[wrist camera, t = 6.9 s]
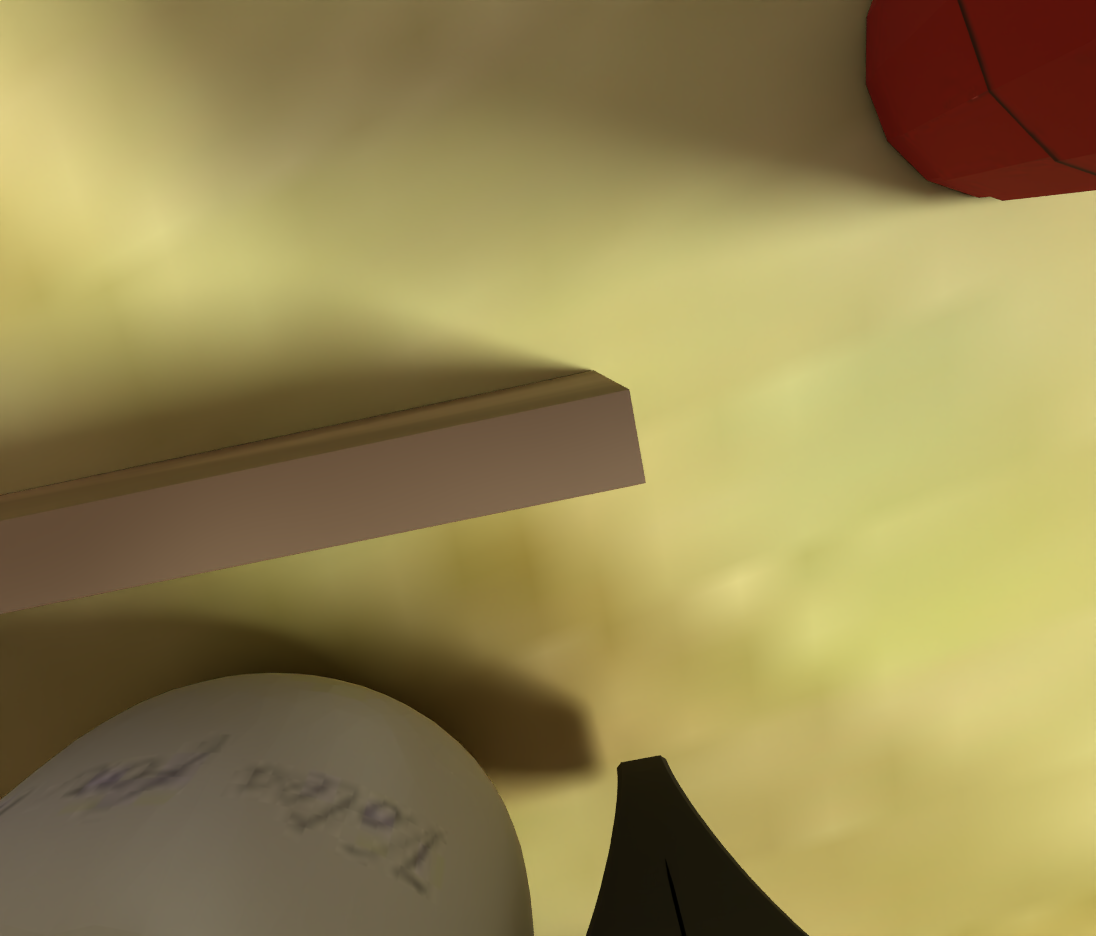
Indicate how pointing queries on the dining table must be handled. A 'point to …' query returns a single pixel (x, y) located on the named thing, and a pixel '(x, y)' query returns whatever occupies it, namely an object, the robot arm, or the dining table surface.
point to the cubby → (318, 489)
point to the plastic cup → (988, 92)
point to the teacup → (262, 822)
